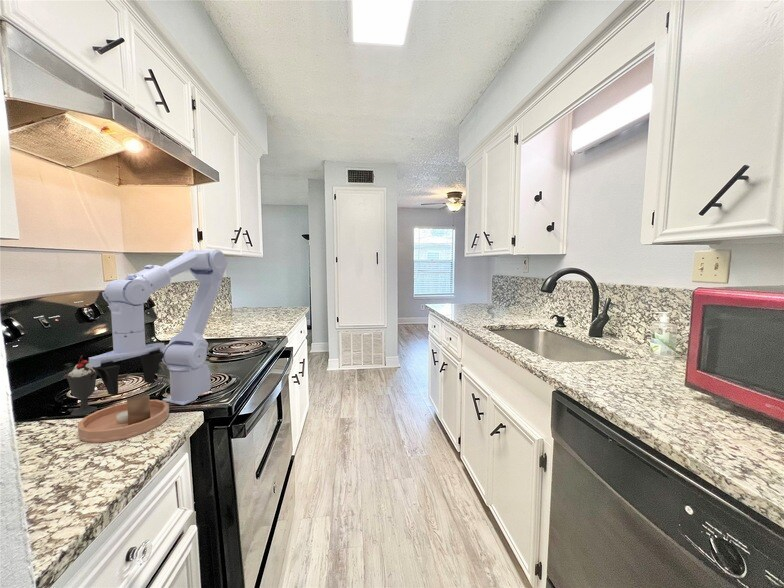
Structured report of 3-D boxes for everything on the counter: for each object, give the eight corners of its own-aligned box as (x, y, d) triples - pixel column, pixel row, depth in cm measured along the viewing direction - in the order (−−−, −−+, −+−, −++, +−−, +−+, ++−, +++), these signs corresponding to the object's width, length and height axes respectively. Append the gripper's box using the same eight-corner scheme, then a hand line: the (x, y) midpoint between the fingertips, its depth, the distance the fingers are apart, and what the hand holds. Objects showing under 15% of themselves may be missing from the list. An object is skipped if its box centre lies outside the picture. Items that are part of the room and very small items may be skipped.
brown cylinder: (143, 418, 74) (142, 393, 73) (154, 421, 72) (153, 396, 72) (124, 425, 70) (122, 400, 70) (135, 429, 69) (134, 403, 68)
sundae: (79, 419, 75) (75, 358, 74) (58, 415, 76) (54, 356, 75) (109, 407, 81) (106, 351, 80) (89, 404, 83) (86, 350, 81)
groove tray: (140, 405, 83) (140, 396, 83) (183, 414, 78) (183, 405, 78) (61, 434, 68) (60, 423, 68) (108, 449, 63) (107, 437, 62)
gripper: (149, 324, 79) (152, 375, 80) (78, 336, 66) (82, 397, 67) (169, 326, 77) (171, 379, 78) (99, 338, 63) (103, 402, 64)
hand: (131, 388), depth 72 cm, fingers open, 7 cm apart
